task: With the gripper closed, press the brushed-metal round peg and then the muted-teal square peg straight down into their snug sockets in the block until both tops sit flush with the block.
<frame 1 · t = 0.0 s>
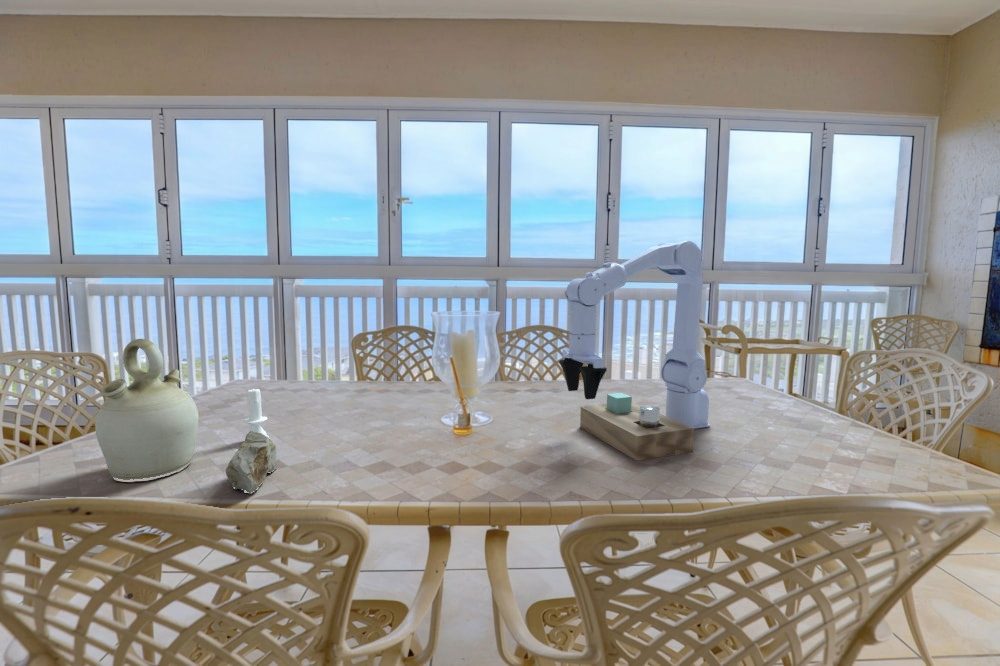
hand: (581, 394, 103), 10 cm above the table, fingers open, 7 cm apart
socket block: (632, 438, 105), on the table
rock: (250, 485, 82), on the table
jug: (154, 470, 88), on the table
peg round: (649, 419, 99), point 6 cm above the table, slide at 3.5 cm
peg square: (618, 405, 109), point 6 cm above the table, slide at 3.5 cm
candle: (257, 441, 104), on the table
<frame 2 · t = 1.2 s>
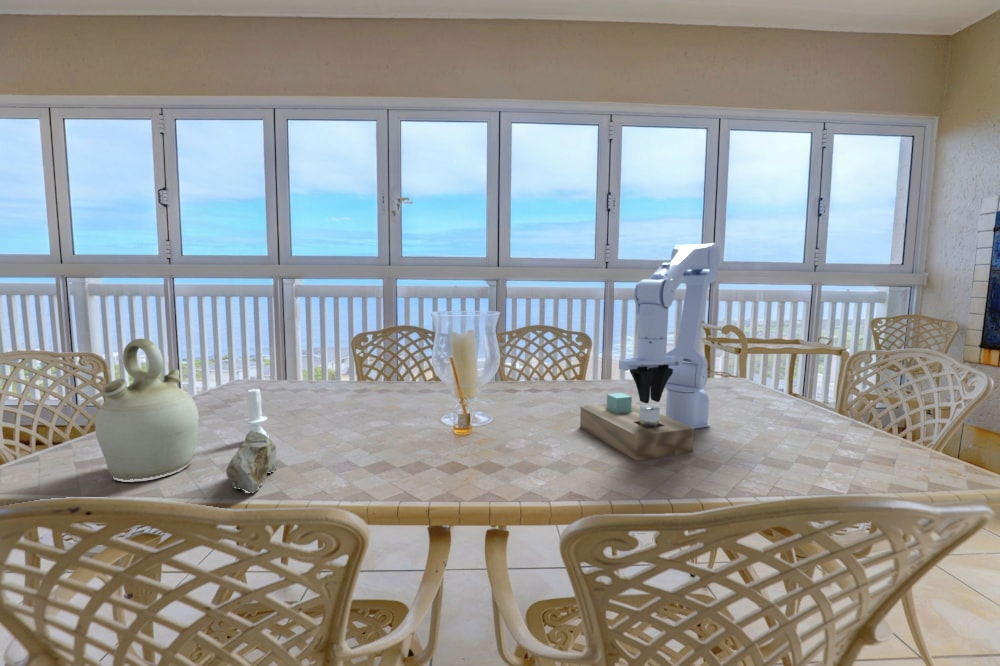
hand: (649, 401, 98), 10 cm above the table, fingers closed
nothing on the table moved.
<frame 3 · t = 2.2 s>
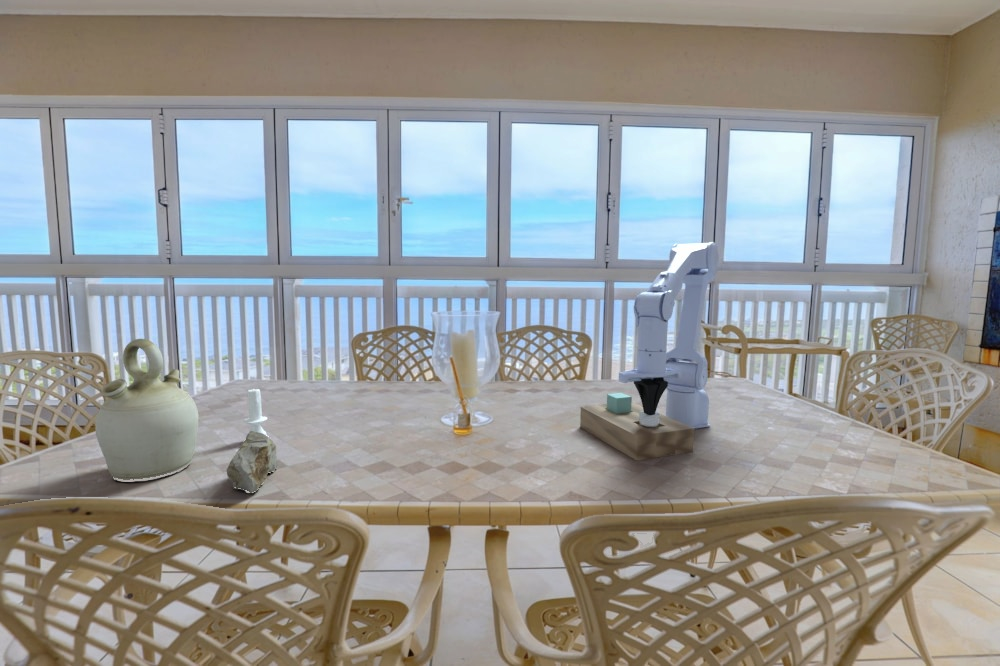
hand: (649, 413, 98), 7 cm above the table, fingers closed, pressing on peg round
peg round: (648, 424, 99), point 5 cm above the table, slide at 2.3 cm, touching gripper
everything else where it was.
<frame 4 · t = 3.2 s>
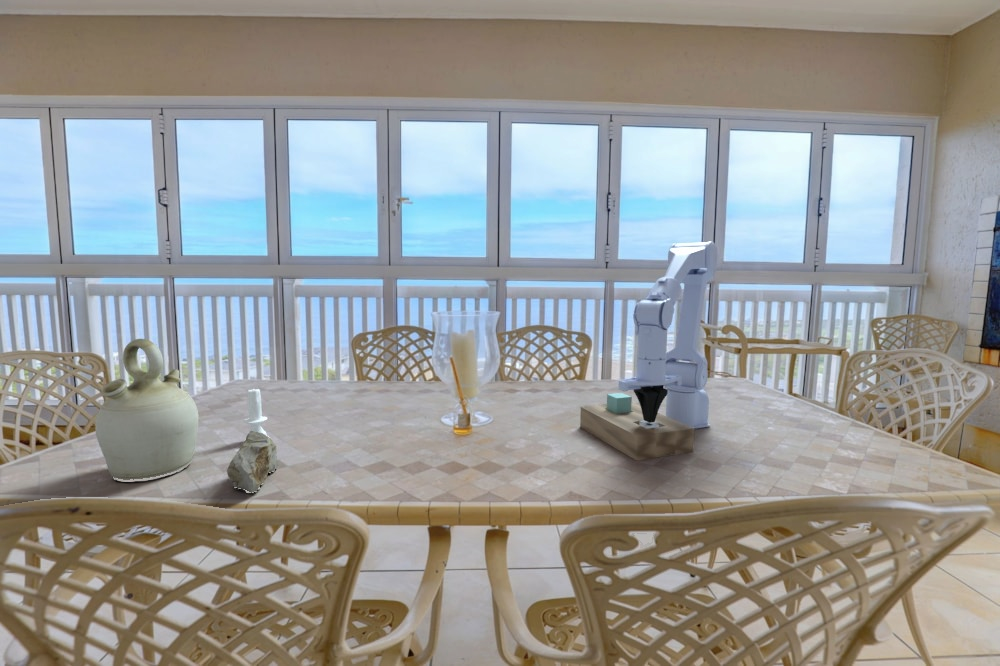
hand: (649, 421, 99), 6 cm above the table, fingers closed
peg round: (648, 434, 99), point 3 cm above the table, slide at 0.2 cm
everything else where it was.
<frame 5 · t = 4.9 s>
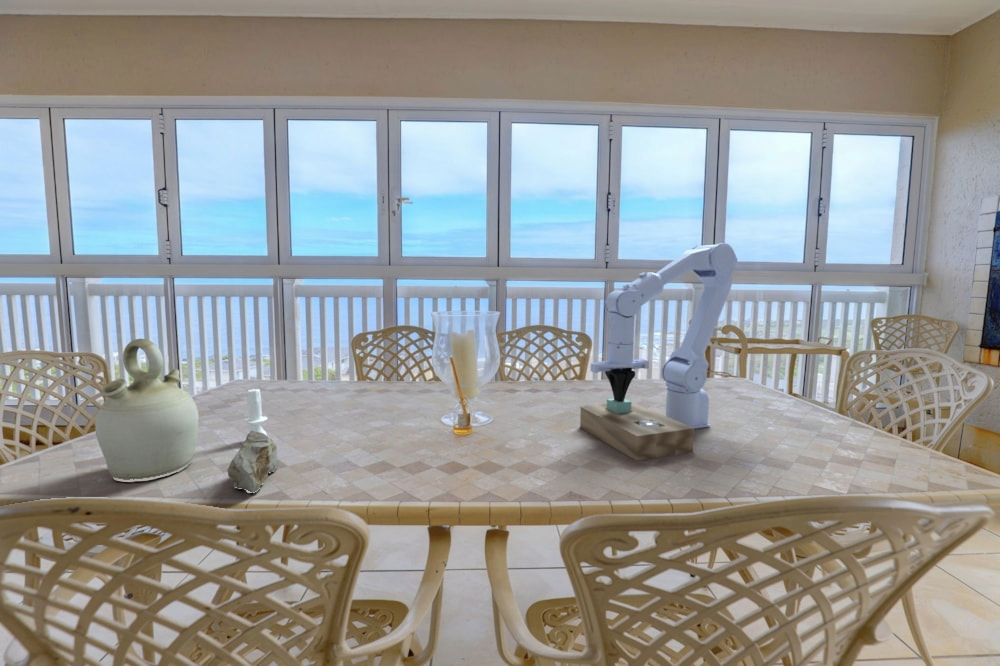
hand: (619, 400, 109), 7 cm above the table, fingers closed, pressing on peg square
peg square: (618, 410, 109), point 5 cm above the table, slide at 2.3 cm, touching gripper
everything else where it was.
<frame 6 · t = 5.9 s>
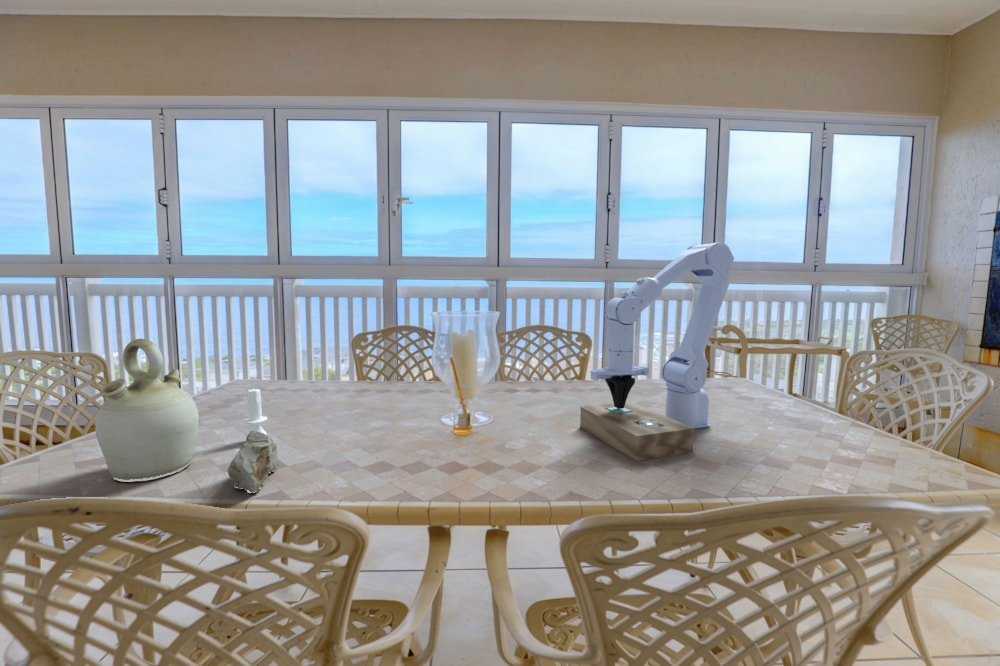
hand: (619, 407, 109), 6 cm above the table, fingers closed
peg square: (618, 419, 109), point 3 cm above the table, slide at 0.2 cm
everything else where it was.
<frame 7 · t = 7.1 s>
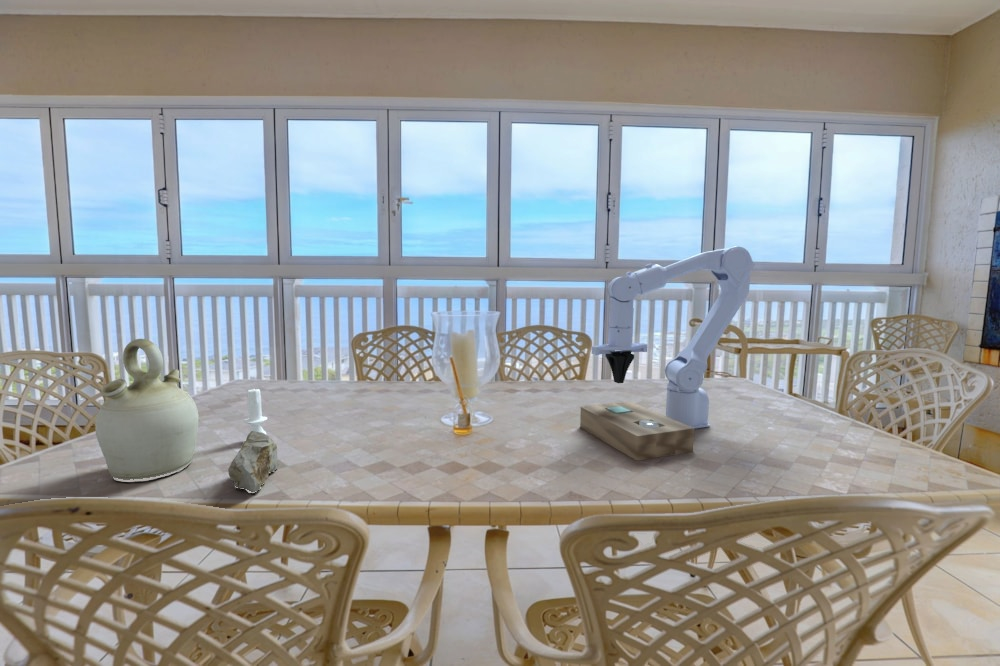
hand: (618, 382, 114), 10 cm above the table, fingers closed
nothing on the table moved.
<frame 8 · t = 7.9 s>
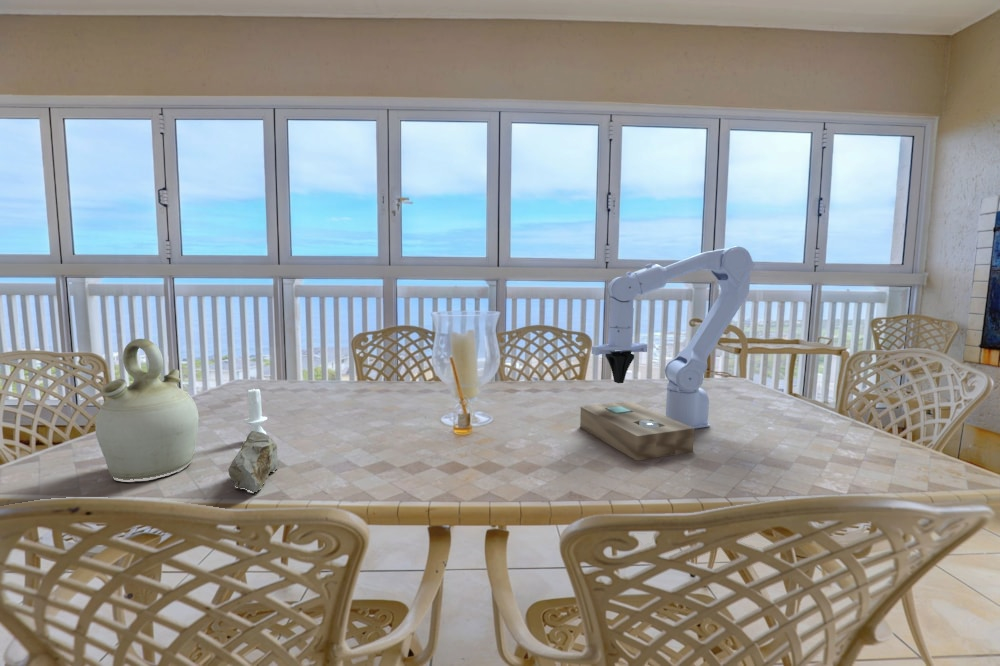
hand: (618, 382, 114), 10 cm above the table, fingers closed
nothing on the table moved.
at the end: peg round slide at 0.2 cm; peg square slide at 0.2 cm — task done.
